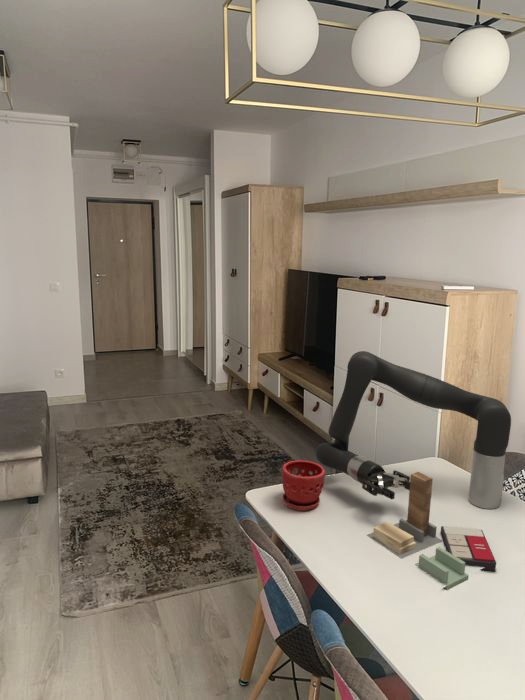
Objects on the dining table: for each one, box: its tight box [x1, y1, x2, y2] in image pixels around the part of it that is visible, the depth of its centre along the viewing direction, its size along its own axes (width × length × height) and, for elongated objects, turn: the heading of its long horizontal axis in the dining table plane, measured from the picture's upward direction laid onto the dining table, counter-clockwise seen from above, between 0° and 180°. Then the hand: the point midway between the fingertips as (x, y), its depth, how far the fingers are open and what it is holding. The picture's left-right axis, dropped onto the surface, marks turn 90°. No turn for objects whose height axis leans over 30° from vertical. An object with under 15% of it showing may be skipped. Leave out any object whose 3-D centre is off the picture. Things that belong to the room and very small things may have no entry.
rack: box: [366, 518, 443, 559], centre depth 148 cm, size 16×13×4 cm
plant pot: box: [281, 459, 326, 511], centre depth 168 cm, size 13×13×12 cm
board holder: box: [414, 546, 469, 591], centre depth 134 cm, size 8×10×4 cm
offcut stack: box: [372, 521, 416, 554], centre depth 146 cm, size 6×10×3 cm, turn 32°
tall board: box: [406, 471, 433, 537], centre depth 149 cm, size 3×5×17 cm, turn 32°
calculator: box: [440, 525, 497, 573], centre depth 143 cm, size 11×4×15 cm
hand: (404, 492), depth 154 cm, fingers open, 8 cm apart
